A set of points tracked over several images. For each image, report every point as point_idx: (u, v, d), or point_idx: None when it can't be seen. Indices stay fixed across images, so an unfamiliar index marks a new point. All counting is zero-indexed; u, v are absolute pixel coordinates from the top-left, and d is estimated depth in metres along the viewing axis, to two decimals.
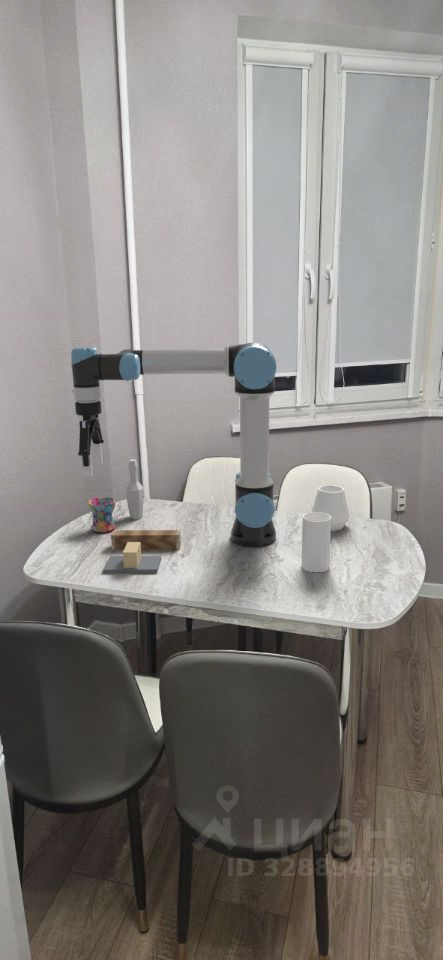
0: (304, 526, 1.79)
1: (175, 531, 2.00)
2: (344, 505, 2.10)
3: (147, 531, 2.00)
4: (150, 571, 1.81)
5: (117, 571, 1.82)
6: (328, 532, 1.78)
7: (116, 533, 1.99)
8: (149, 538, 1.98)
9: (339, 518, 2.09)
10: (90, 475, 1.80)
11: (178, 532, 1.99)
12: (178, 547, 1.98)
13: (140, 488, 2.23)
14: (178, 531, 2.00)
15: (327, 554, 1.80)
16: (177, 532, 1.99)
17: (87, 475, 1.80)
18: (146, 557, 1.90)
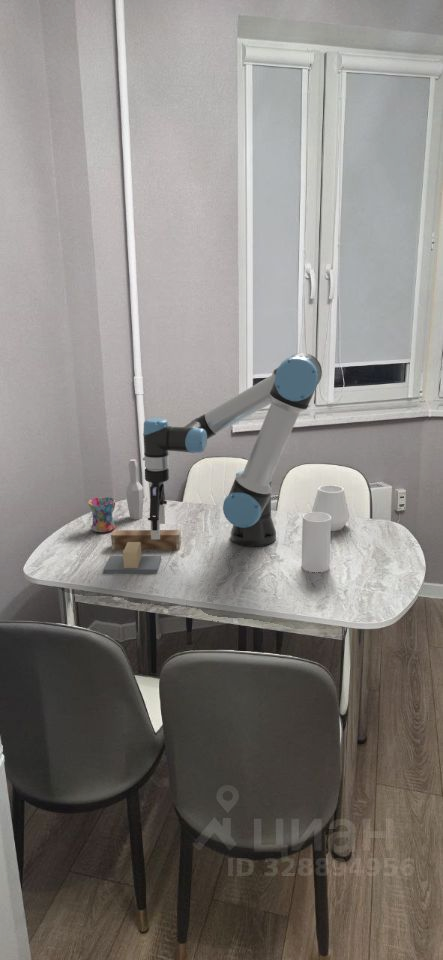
0: (304, 526, 1.79)
1: (175, 531, 2.00)
2: (344, 505, 2.10)
3: (147, 531, 2.00)
4: (150, 571, 1.81)
5: (117, 571, 1.82)
6: (328, 532, 1.78)
7: (116, 533, 1.99)
8: (149, 538, 1.98)
9: (339, 518, 2.09)
10: (158, 538, 1.92)
11: (178, 532, 1.99)
12: (178, 547, 1.98)
13: (140, 488, 2.23)
14: (178, 531, 2.00)
15: (327, 554, 1.80)
16: (177, 532, 1.99)
17: (155, 538, 1.92)
18: (146, 557, 1.90)
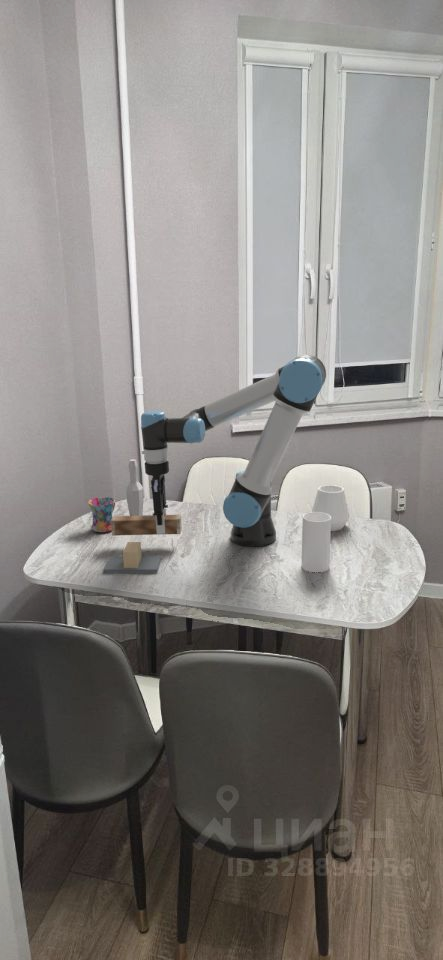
0: (304, 526, 1.79)
1: (175, 516, 1.98)
2: (344, 505, 2.10)
3: (147, 516, 1.99)
4: (150, 571, 1.81)
5: (117, 571, 1.82)
6: (328, 532, 1.78)
7: (116, 519, 1.98)
8: (149, 523, 1.96)
9: (339, 518, 2.09)
10: (163, 533, 1.96)
11: (178, 516, 1.97)
12: (179, 531, 1.96)
13: (140, 488, 2.23)
14: (178, 516, 1.98)
15: (327, 554, 1.80)
16: (177, 516, 1.97)
17: (160, 532, 1.96)
18: (146, 557, 1.90)
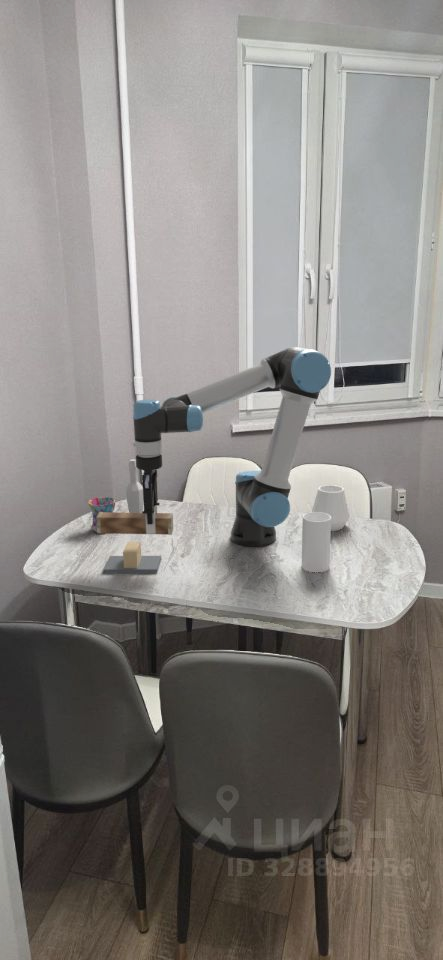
0: (304, 526, 1.79)
1: (167, 514, 1.82)
2: (344, 505, 2.10)
3: (136, 514, 1.83)
4: (150, 571, 1.81)
5: (117, 571, 1.82)
6: (328, 532, 1.78)
7: (102, 515, 1.81)
8: (138, 521, 1.80)
9: (339, 518, 2.09)
10: (154, 533, 1.80)
11: (170, 515, 1.81)
12: (170, 532, 1.81)
13: (140, 488, 2.23)
14: (170, 514, 1.82)
15: (327, 554, 1.80)
16: (169, 515, 1.81)
17: (150, 532, 1.80)
18: (146, 557, 1.90)
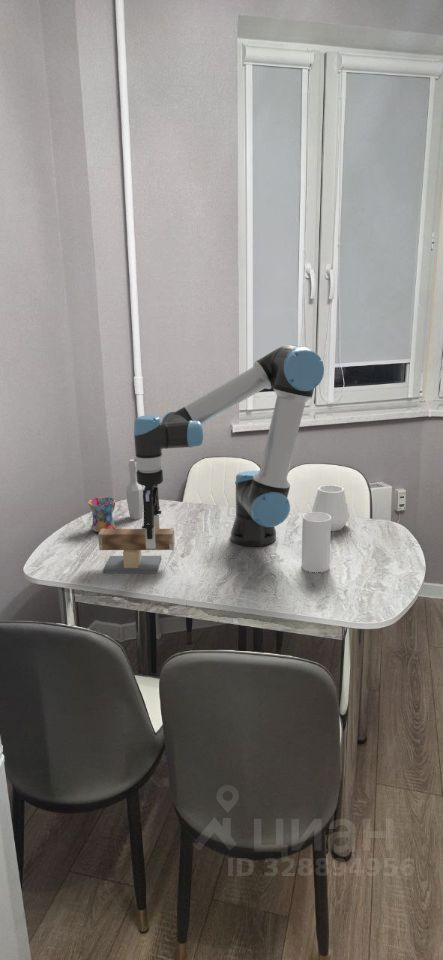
0: (304, 526, 1.79)
1: (168, 530, 1.84)
2: (344, 505, 2.10)
3: (138, 530, 1.84)
4: (150, 571, 1.81)
5: (117, 571, 1.82)
6: (328, 532, 1.78)
7: (104, 532, 1.83)
8: (139, 538, 1.81)
9: (339, 518, 2.09)
10: (153, 547, 1.79)
11: (171, 531, 1.83)
12: (171, 547, 1.82)
13: (140, 488, 2.23)
14: (171, 530, 1.84)
15: (327, 554, 1.80)
16: (170, 531, 1.83)
17: (150, 547, 1.79)
18: (146, 557, 1.90)
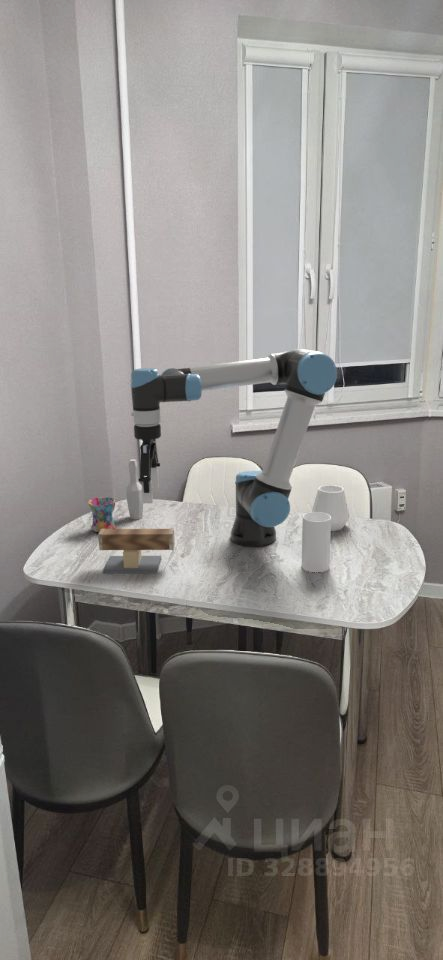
0: (304, 526, 1.79)
1: (168, 530, 1.84)
2: (344, 505, 2.10)
3: (138, 530, 1.84)
4: (150, 571, 1.81)
5: (117, 571, 1.82)
6: (328, 532, 1.78)
7: (104, 532, 1.83)
8: (139, 538, 1.81)
9: (339, 518, 2.09)
10: (150, 502, 1.73)
11: (171, 531, 1.83)
12: (171, 547, 1.82)
13: (140, 488, 2.23)
14: (171, 530, 1.84)
15: (327, 554, 1.80)
16: (170, 531, 1.83)
17: (147, 502, 1.73)
18: (146, 557, 1.90)
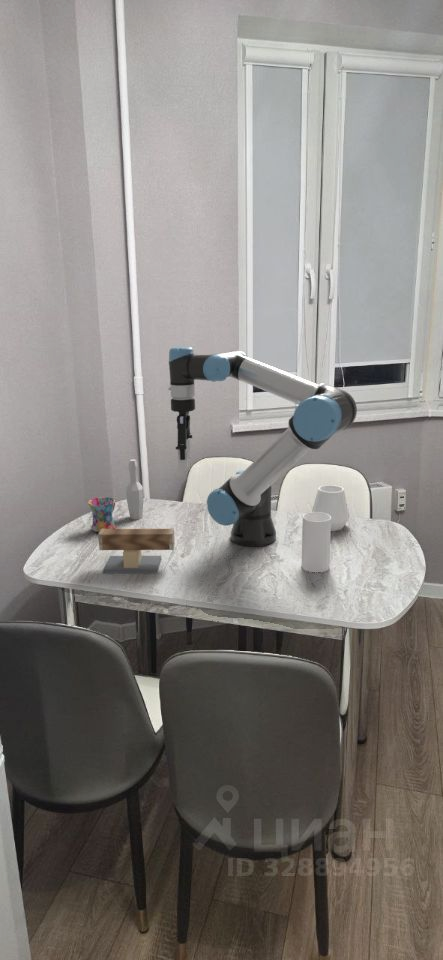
0: (304, 526, 1.79)
1: (168, 530, 1.84)
2: (344, 505, 2.10)
3: (138, 530, 1.84)
4: (150, 571, 1.81)
5: (117, 571, 1.82)
6: (328, 532, 1.78)
7: (104, 532, 1.83)
8: (139, 538, 1.81)
9: (339, 518, 2.09)
10: (186, 468, 1.91)
11: (171, 531, 1.83)
12: (171, 547, 1.82)
13: (140, 488, 2.23)
14: (171, 530, 1.84)
15: (327, 554, 1.80)
16: (170, 531, 1.83)
17: (183, 468, 1.91)
18: (146, 557, 1.90)
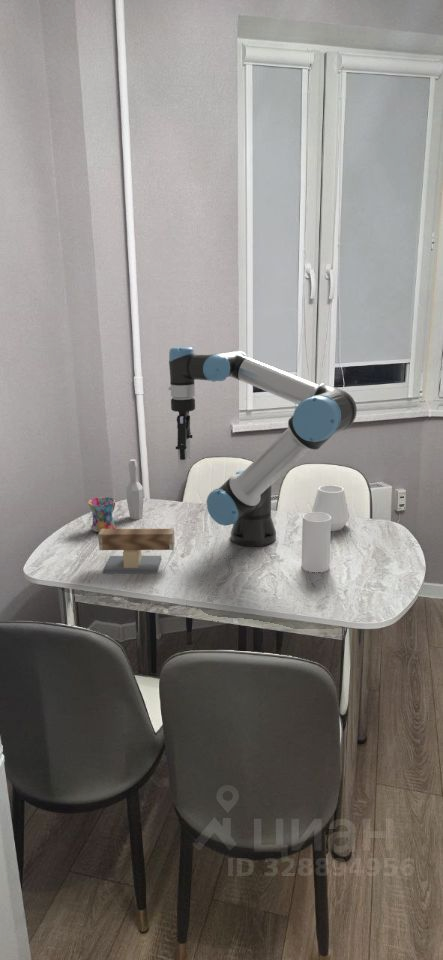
0: (304, 526, 1.79)
1: (168, 530, 1.84)
2: (344, 505, 2.10)
3: (138, 530, 1.84)
4: (150, 571, 1.81)
5: (117, 571, 1.82)
6: (328, 532, 1.78)
7: (104, 532, 1.83)
8: (139, 538, 1.81)
9: (339, 518, 2.09)
10: (186, 468, 1.91)
11: (171, 531, 1.83)
12: (171, 547, 1.82)
13: (140, 488, 2.23)
14: (171, 530, 1.84)
15: (327, 554, 1.80)
16: (170, 531, 1.83)
17: (182, 468, 1.91)
18: (146, 557, 1.90)
